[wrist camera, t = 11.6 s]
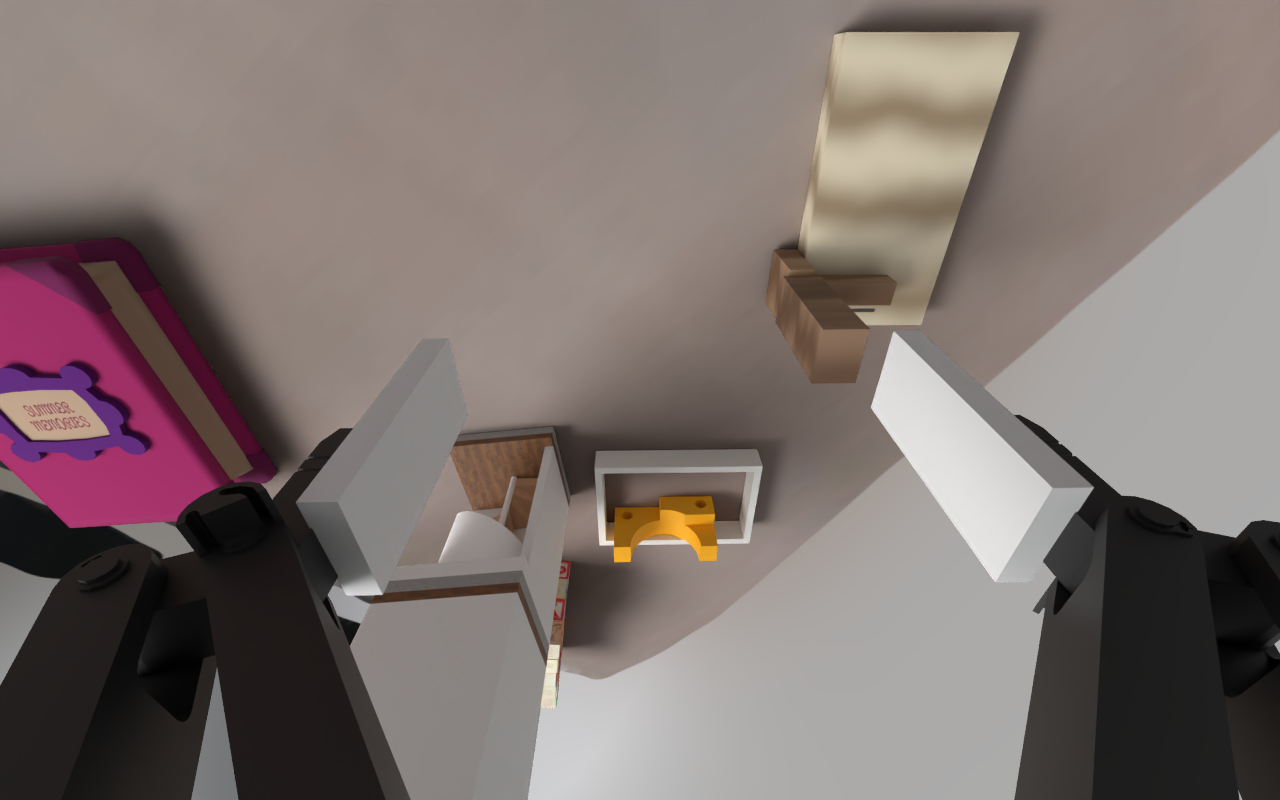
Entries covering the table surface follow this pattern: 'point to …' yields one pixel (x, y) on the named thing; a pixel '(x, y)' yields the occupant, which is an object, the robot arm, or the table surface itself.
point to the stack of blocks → (556, 640)
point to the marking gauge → (823, 315)
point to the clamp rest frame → (683, 464)
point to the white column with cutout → (473, 627)
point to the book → (110, 390)
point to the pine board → (898, 156)
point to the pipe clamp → (667, 525)
